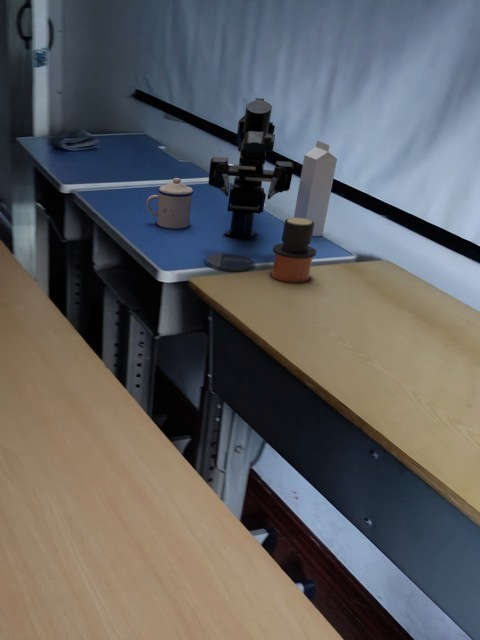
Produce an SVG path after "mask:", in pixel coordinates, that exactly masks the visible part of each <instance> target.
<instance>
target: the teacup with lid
mask: <svg viewBox="0 0 480 640" xmlns="http://www.w3.org/2000/svg"><path fill="white" fill-rule="evenodd" d="M181 181H182V180H181V178H179V177H174V178H173V179H172V181H170V182H168V183H166V184H164V185H161V186H160V187H159V188H158V194H153V195H150V196H148V198H147V199H146V208H147V209H146V210H147V211H148V212H149V214H151V215H154V216H157V217H156V224H157V225H158V226H159V227H161V228H164V229H172V230H179V229H185V228H188V227H189V226H190V219H191V211H192V200H193V194H194V190H193V188H192V187H190V186H188V185H187V184H185V183H184V182H181ZM153 199H158V204H157V211H154V210H153V209H152V208H151V207H150V202H151V200H153Z"/></svg>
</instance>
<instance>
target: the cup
mask: <svg viewBox="0 0 480 640" xmlns="http://www.w3.org/2000/svg"><path fill="white" fill-rule="evenodd" d="M313 258H314V257H311V258H305V259H296V258H288V257H283V256H280V255H278V254H276V253H274V258H273V264H272V269H271V276H272V278H274V279H275V280H278V281H281V282H286V283H302V282H306V281H308V280H309V278H310V274H311V268H312V263H313Z"/></svg>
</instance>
